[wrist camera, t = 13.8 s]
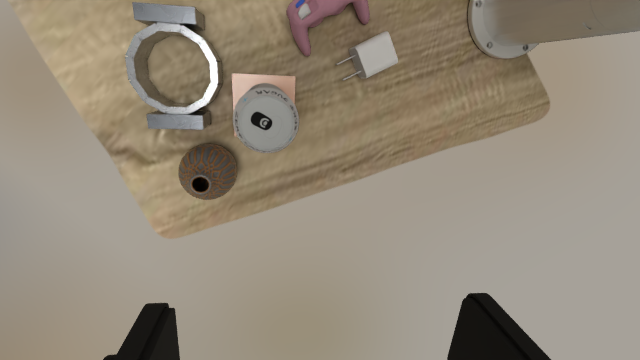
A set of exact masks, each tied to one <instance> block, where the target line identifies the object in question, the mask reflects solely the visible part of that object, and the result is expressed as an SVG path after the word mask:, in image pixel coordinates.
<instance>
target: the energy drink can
mask: <svg viewBox="0 0 640 360" xmlns="http://www.w3.org/2000/svg"><path fill="white" fill-rule="evenodd" d="M233 126H234V130H235V132H236V134H237V136H238V138H239V139H240V140H241V142H242V143H243V144H244V145H246V146H247V147H248V148H250V149H252V150H254V151H257V152H261V153H273V152H277V151H280V150H282V149H284V148H285V147H287V146H288V145H289V144H290V143H291V142H292V141H293V139H294V138H295V136H296V134H297V131H298V127H299V116H298V111H297V109H296V106H295V105H294V103H293V101H292V100H291V99H290V98H289V97H288V96H287V95H286V94H285V93H284V92H283V91H282V90H281V89H280V88H278V87H277V86H275V85H273V84H269V83H261V84H257V85H255V86H253V87H251V88H250V89H249V90H248V91H247V92H246V93H245V94H244V95H243V96H242V97H241V98H240V99H239V101H238V102H237V104H236V106H235V109H234V112H233Z"/></svg>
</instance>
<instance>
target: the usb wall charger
mask: <svg viewBox="0 0 640 360" xmlns="http://www.w3.org/2000/svg"><path fill="white" fill-rule="evenodd" d="M349 53H350V56H351V57H349V58H347V59H345V60H343V61H341V62H339V63H337V64H336V65H338V64H340V63H342V62H344V61H346V60H348V59H350V58H352V61H353V63H354V66H355V69H356V71H357V72H356V73H354V74H352V75H350V76H348V77H346V78H344V79H342V80H345V79H348V78H350V77H352V76H354V75H356V74H358V76H359V77H360V78H368V77H370V76H372V75H374V74H376V73H378V72H380V71H382V70H384V69H386V68H388V67H390V66H392V65H394V64H396V63H398V58H397V55H396V52H395V49H394V46H393V43H392V40H391V37H390V35H389V33H388V32H387V31H385V32H383V33H380V34H378V35H376V36H374V37H372V38H370V39H368V40H366V41H364V42H362V43H360V44H358V45H356V46H354V47H352V48H350V49H349Z"/></svg>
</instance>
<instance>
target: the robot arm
mask: <svg viewBox="0 0 640 360" xmlns="http://www.w3.org/2000/svg"><path fill="white" fill-rule="evenodd" d="M468 23H469V29H470V33H471V36H472V38H473V40H474V42H475V44H476V45H477V46H478V47H479V49H480V50H482V51H483V52H484V53H485V54H487V55H489V56H491V57H494V58H499V59H508V58H515V57H518V56H521V55H524V54H526V53H527V52H529V51H531V50H532V49H533V48H534V47H536V46H537V45H538V44H539V43H542V42H551V41H560V40H569V39H576V38H586V37H594V36H602V35H611V34H618V33H628V32H635V31H640V0H470V3H469V7H468ZM447 359H448V360H551V359H550V358H549V357H548V356H547V355H546V354H545V353H544V352H543V351H542V350H541V349H540V348H539V347H538V346H537V344H536V343H535V342H534V341H533V340H532V339H531V338H530V337H529V336H528V335H527V334H526V333H525V332H524V331H523V330H522V329H521V328H520V327H519V325H518V324H517V323H516V322H515V321H514V320H513V319H512V318H511V317H510V316H509V315H508V314H507V313H506V312H505V311H504V310H503V309H502V308H501V307H500V306H499V305H498V303H497V302H496V301H495V300H494V299H493V298H492V297H491V296H490V295H488V294H487V293H471V294H468V295H467V297H466V298H464V300H463V301H462V305H461V309H460V312H459V316H458V320H457V324H456V327H455V331H454V335H453V339H452V342H451V346H450V350H449V354H448V358H447ZM103 360H180V356H179V346H178V337H177V325H176V315H175V309H174V308H169V305H168V303H149V304H146V305H145V306H144V307H143V309H142V311H141V312H140V314H139V316H138V318H137V319H136V321H135V323H134V325H133V327H132V328H131V330H130V332H129V334H128V335H127V337H126V339H125V341H124V342H123V344H122V346H121V348H120V349H119V351H118V353H117V355H108V356H106V357H105V358H104V359H103Z"/></svg>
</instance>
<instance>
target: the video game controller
mask: <svg viewBox="0 0 640 360" xmlns="http://www.w3.org/2000/svg"><path fill="white" fill-rule="evenodd" d="M349 3H352V4H353V5H354V8H355V11H356V13H357V16H358V18H359V20H360V21H361V23H362V24H367V23H368V21H369V15H370V14H369V7H368V1H367V0H293V1H292V2H291V3H290V5H289V6H288V8H287V12H286V13H287V16H288V18H289V20H290V26H291V30H292V34H293V36H294V39H295V41H296V43H297V45H298V47H299V49H300V50H301V52H302V53H303V54H304V55H306V56H309V55H310V53H311V46H310V42H309V38H308V27H311V28H313V27H316V26H317V25H319V24H320V23H321V22H322V21H323V19H324V17H327V16H329V15H337V14H339V13H341V12H342V11H343V10H344V9H345V7H346V5H347V4H349Z"/></svg>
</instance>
